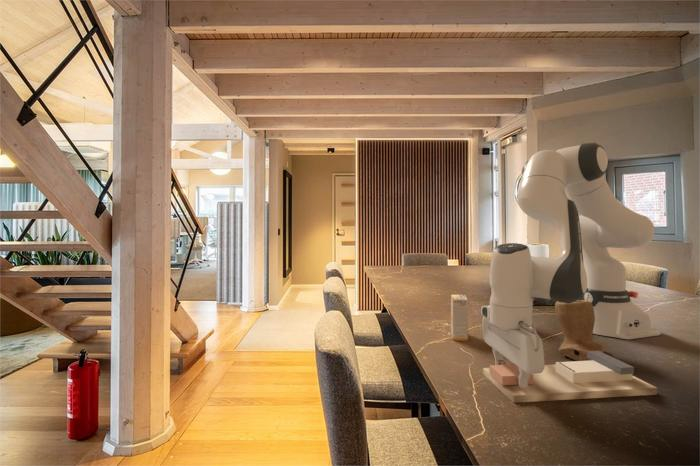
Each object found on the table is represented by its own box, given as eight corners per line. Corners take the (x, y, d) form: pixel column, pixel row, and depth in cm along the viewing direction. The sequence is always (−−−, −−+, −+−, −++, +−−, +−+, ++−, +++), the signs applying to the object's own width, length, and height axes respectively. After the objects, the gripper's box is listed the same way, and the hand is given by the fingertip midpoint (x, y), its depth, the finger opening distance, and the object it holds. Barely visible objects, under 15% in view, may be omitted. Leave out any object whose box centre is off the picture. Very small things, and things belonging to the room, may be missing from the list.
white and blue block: (604, 365, 89) (604, 350, 89) (640, 383, 79) (640, 366, 79) (550, 368, 88) (550, 352, 88) (579, 387, 78) (579, 369, 78)
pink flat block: (518, 372, 85) (518, 364, 85) (533, 383, 79) (533, 374, 79) (489, 373, 85) (489, 365, 85) (502, 385, 79) (502, 376, 79)
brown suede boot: (560, 342, 111) (560, 293, 110) (607, 351, 103) (608, 298, 102) (546, 356, 100) (546, 302, 99) (598, 367, 92) (599, 309, 91)
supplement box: (468, 341, 113) (468, 299, 112) (452, 340, 114) (452, 299, 113) (465, 333, 121) (465, 294, 120) (450, 332, 122) (450, 293, 121)
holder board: (605, 367, 91) (605, 362, 91) (656, 394, 77) (656, 387, 77) (483, 374, 89) (483, 368, 89) (513, 402, 75) (513, 395, 75)
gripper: (553, 329, 71) (553, 398, 72) (501, 305, 92) (501, 358, 92) (522, 330, 71) (522, 399, 71) (477, 305, 91) (477, 359, 92)
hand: (510, 376), depth 82 cm, fingers open, 8 cm apart
